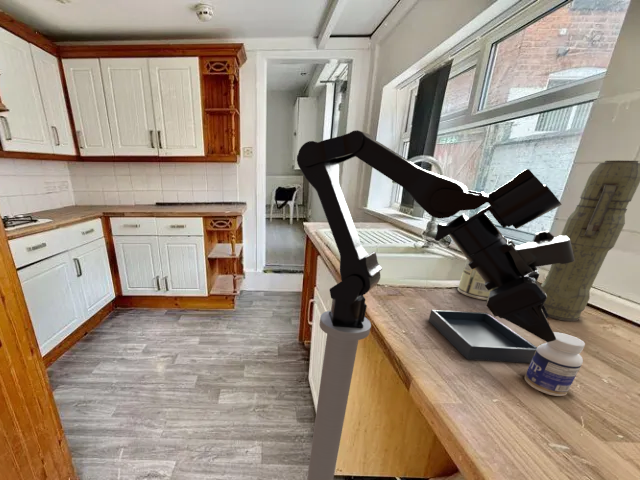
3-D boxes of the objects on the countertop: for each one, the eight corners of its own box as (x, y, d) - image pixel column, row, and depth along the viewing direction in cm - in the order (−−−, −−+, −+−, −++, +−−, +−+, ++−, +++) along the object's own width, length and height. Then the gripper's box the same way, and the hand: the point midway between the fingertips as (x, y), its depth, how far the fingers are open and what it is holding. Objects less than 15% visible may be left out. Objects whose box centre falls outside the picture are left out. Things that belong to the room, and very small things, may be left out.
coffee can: (487, 288, 91) (503, 241, 86) (508, 302, 81) (527, 251, 76) (450, 285, 92) (464, 239, 87) (466, 298, 83) (483, 248, 78)
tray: (466, 359, 56) (471, 346, 55) (428, 320, 70) (431, 309, 69) (536, 363, 55) (542, 350, 54) (483, 323, 69) (487, 312, 68)
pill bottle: (520, 371, 53) (540, 326, 49) (561, 382, 50) (584, 335, 47) (527, 389, 48) (548, 340, 45) (571, 402, 46) (597, 352, 43)
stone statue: (576, 310, 78) (646, 162, 65) (581, 327, 69) (663, 160, 56) (531, 300, 83) (587, 161, 70) (531, 314, 75) (595, 159, 62)
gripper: (550, 221, 37) (642, 331, 35) (538, 209, 51) (603, 286, 49) (457, 270, 44) (528, 362, 42) (469, 247, 58) (522, 316, 56)
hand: (548, 328), depth 47 cm, fingers open, 9 cm apart
